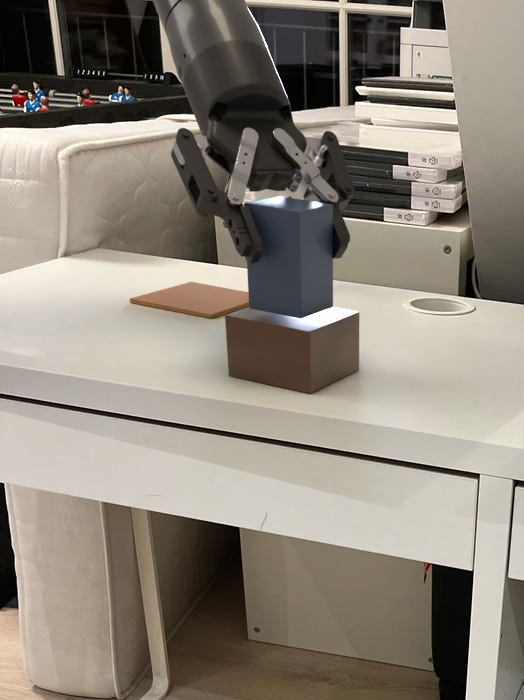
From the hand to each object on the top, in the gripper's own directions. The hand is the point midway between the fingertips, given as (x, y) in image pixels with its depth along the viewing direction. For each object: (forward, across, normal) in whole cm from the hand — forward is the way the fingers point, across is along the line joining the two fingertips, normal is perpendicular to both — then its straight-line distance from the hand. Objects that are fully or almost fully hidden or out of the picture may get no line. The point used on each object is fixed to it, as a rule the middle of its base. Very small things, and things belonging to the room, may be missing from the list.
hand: (299, 254), depth 77 cm
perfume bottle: (-16, +14, +30) cm, 36 cm away
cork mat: (-12, +3, +26) cm, 29 cm away
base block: (+6, 0, +8) cm, 10 cm away
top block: (+2, 0, +4) cm, 5 cm away
